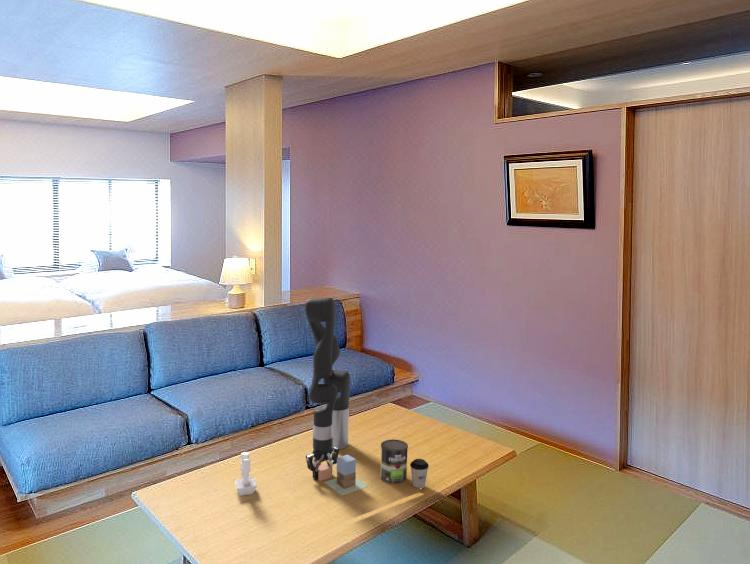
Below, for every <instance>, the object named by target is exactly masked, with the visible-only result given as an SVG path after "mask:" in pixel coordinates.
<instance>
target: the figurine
mask: <svg viewBox="0 0 750 564" xmlns="http://www.w3.org/2000/svg"><path fill="white" fill-rule="evenodd" d="M250 456H251V455H250V452H248V451H243V452H241V453H240V462H239V463H240V471H241V478H237V479H234V480H233V481H234V484H235V485H234V486H235V487H236V491H237V493H238V494H239V496H240V497H241V496H249V495H253V494H254V492H255V491H256V489H257V487H258V484H257V482H256V478H255V476H250V472H251V459H250Z"/></svg>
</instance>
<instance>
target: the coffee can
mask: <svg viewBox="0 0 750 564" xmlns="http://www.w3.org/2000/svg"><path fill="white" fill-rule="evenodd" d="M380 447H381V448H380V476H379V477H380V479H381V480H382V481H383V482H384V483H387V484H395V485H396V484H400V483H404V482H405V481H407V480H406V479H407V473H408V472H407V471H408V451H409V450H408V448H409V445H408V443H407V442H405V441H403V440H401V439H387V440H386V439H385V440H384V441H382V442H381V443H380Z"/></svg>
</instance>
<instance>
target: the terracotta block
mask: <svg viewBox="0 0 750 564" xmlns="http://www.w3.org/2000/svg"><path fill="white" fill-rule="evenodd" d="M332 474H333V467H332V468H331V467H330V466H328V464H327V463H325V462H322V463H321V465H320V466H319V468H318V480H317V481H320V482H322V481H325V480H328V479H331V478H333V477H332V476H333V475H332Z"/></svg>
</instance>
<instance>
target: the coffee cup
mask: <svg viewBox="0 0 750 564" xmlns="http://www.w3.org/2000/svg"><path fill="white" fill-rule="evenodd" d="M409 466H410V473H411V474H410V475H411V483H412V486H413V487H415V488H417V489H419V490H421V489H420V488H424V487H425V488H426V482H427V478H428V469H429V463H428V462H427V461H426V460H425V459H422V458H415V459H413V460H412V461H411V462H410V464H409ZM425 488H424V489H425Z"/></svg>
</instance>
